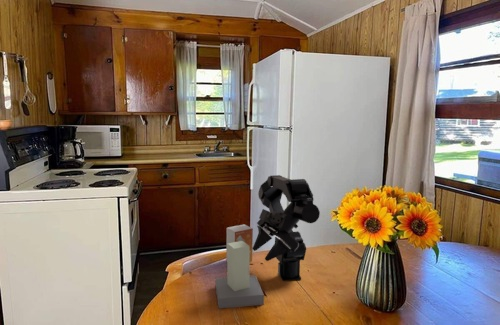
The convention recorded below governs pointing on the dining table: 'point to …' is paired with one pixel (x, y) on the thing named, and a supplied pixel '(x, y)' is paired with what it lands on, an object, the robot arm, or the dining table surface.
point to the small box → (240, 236)
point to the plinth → (238, 294)
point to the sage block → (238, 265)
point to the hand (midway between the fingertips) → (259, 254)
